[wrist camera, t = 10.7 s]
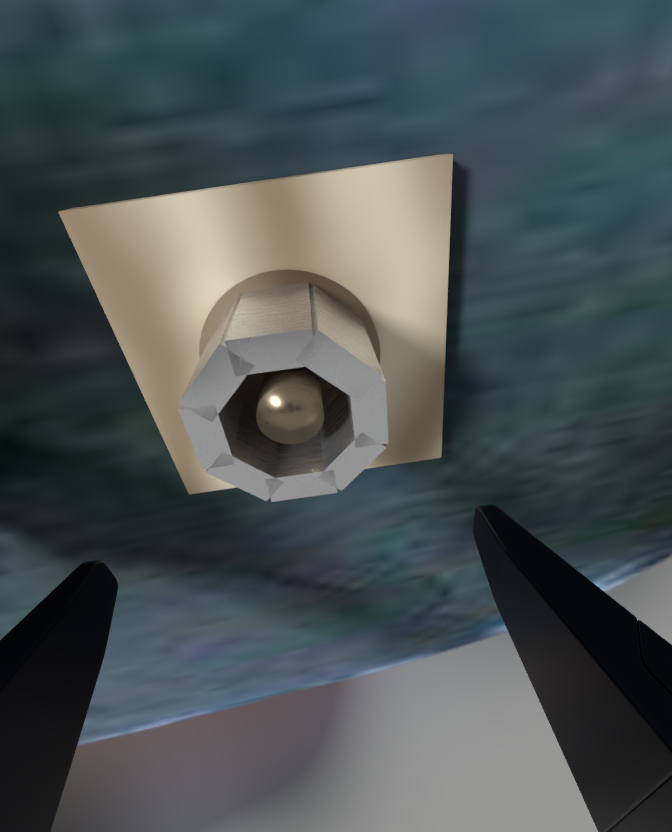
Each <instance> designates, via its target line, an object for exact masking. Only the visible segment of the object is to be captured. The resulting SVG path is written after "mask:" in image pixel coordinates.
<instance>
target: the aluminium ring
mask: <svg viewBox="0 0 672 832" xmlns="http://www.w3.org/2000/svg"><path fill="white" fill-rule="evenodd" d="M299 367H307V368H308V369H310V370H311V371H313V372H314V373H316V374H317V375H319V376H320V377H322V378H323V379H325V380H326V381H328V382H330V383H331V384H333V385H332V386H331V387H330V388H329V389H328V390H327V392H326V393H325V394H324V395H323V396H322V400H323V410H324V421H323V425H322V427H321V429H320V430H319V432H318V433H317V434H316V435H315V436H314V437H312V438H311V439H309V440H307V441H305V442H302V443H298V444H283V443H279V442H276V441H273V440H271V439H270V438H268V437H267V436H266V435H265V434H264V433H263V432H262V431H261V430H260V428H259V426H258V424H257V420H256V412H257V405H258V399H259V394H258V393H256V392H255V391H253V390H251V389H250V388H248V387H247V385H246V381H245V377H246V376H247V375H249V374H256V373H263V372H270V371H278V370H285V369H292V368H299ZM179 405H180V407H179V409H178V410H179V413H180V415H181V418H182V420H183V423H184V425H185V428H186V430H187V433H188V435H189V438H190V440H191V443H192V445H193V448H194V450H195V453H196V455H197V458H198V460H199V462H200V465H201V467H202V469H207V470H206V473H207V474H210V475H212V476H214V477H216V478H218V479H220V480H222V481H225V482H227V483H229V484H231V485H233V486H235V487H237V488H240V489H242V490H244V491H246V492H248V493H250V494H252V495H254V496H257V497H259V498H261V499H263V500H265V501H267V500H268V499H269V498H271V501H272V502H274V501H281V500H288V499H296V498H303V497H310V496H317V495H324V494H331V493H337V488H338V489H340V490H343V489H344V488H345V487H346V486H347V485H348V484H349V483H350V482H351V481H352V480H353V479H355V478H356V477H357V476H358V475H359V474H360V473H361V472H362V471H363V470H364V469H365V468H366V467H367V466H368V465H369V464H370V463H371V462H372V461H373V460H374V459H375V458H376V457H377V456H378V455H379V454H380V453H382V452H383V451H384V450H385V449H386V448H387V447H386V444H387V443H388V422H387V401H386V381H385V378H384V376H383V373H382V370H381V368H380V365H379V362H378V360H377V357H376V355H375V352H374V349H373V347H372V344H371V341H370V339H369V336H368V334H367V331H366V328H365V326H364V325H363V322H362V320H360V319H359V318H358V317H356V316H355V315H354V314H352V313H351V312H350V311H349V310H347V309H346V308H345V307H343V306H342V305H341V304H339V303H338V302H337V301H336V300H334V299H333V298H332V297H330V296H329V295H328V294H326V293H325V292H324V291H322V290H321V289H320V288H319V287H317V286H316V285H315V284H312V286H311V287H310V288H309V283H308V282H305V283H298V284H291V285H284V286H276V287H269V288H262V289H255V290H247V291H244V292H243V295H241V294H239V295H238V297H237V298H236V300H235V302H234V303H233V305H232V306H231V308H230V309H229V311H228V312H227V314H226V315H225V317H224V318H223V320H222V321H221V323H220V324H219V326H218V327H217V329H216V330H215V332H214V333H213V335H212V336H211V338H210V340H209V341H208V343H207V345H206V347H205V349H204V351H203V353H202V356H201V358H200V360H199V362H198V364H197V366H196V368H195V370H194V373H193V375H192V377H191V379H190V381H189V383H188V385H187V388H186V390H185V392H184V394H183V396H182V398H181V400H180V402H179Z"/></svg>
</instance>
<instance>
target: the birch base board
mask: <svg viewBox="0 0 672 832" xmlns="http://www.w3.org/2000/svg"><path fill="white" fill-rule="evenodd" d="M452 168H453V154H440V155H433V156H426V157H420V158H413V159H406V160H399V161H392V162H385V163H379V164H372V165H365V166H358V167H351V168H344V169H337V170H331V171H324V172H317V173H310V174H303V175H296V176H290V177H283V178H276V179H269V180H262V181H255V182H249V183H242V184H235V185H228V186H221V187H214V188H207V189H201V190H194V191H187V192H180V193H173V194H166V195H160V196H153V197H146V198H139V199H132V200H125V201H118V202H112V203H105V204H98V205H91V206H84V207H77V208H71V209H67V210H63V211H59V214H60V217H61V219H62V221H63V223H64V225H65V227H66V230H67V232H68V234H69V236H70V238H71V240H72V243H73V245H74V247H75V249H76V251H77V253H78V255H79V258H80V260H81V262H82V264H83V266H84V268H85V271H86V273H87V275H88V277H89V279H90V281H91V284H92V286H93V288H94V290H95V292H96V294H97V297H98V299H99V301H100V303H101V305H102V307H103V310H104V312H105V314H106V316H107V318H108V320H109V323H110V325H111V327H112V329H113V331H114V333H115V336H116V338H117V340H118V342H119V344H120V346H121V348H122V351H123V353H124V355H125V357H126V359H127V361H128V364H129V366H130V368H131V370H132V372H133V374H134V377H135V379H136V381H137V383H138V385H139V387H140V390H141V392H142V394H143V396H144V398H145V400H146V403H147V405H148V407H149V409H150V411H151V413H152V416H153V418H154V420H155V422H156V424H157V426H158V429H159V431H160V433H161V435H162V437H163V439H164V441H165V444H166V446H167V448H168V450H169V452H170V454H171V457H172V459H173V461H174V463H175V465H176V467H177V470H178V472H179V474H180V476H181V478H182V480H183V483H184V485H185V487H186V489H187V491H188V493H189V494H195V493H202V492H209V491H216V490H222V489H229V488H236V487H235V486H233V485H231V484H229V483H227V482H225V481H222V480H220V479H218V478H216V477H214V476H212V475H210V474H207V473H206V470H207V469H202V467H201V465H200V462H199V460H198V458H197V455H196V453H195V450H194V448H193V445H192V443H191V440H190V438H189V435H188V433H187V430H186V428H185V425H184V423H183V420H182V418H181V415H180V413H179V410H178V409H179V407H180V405H179V402H180V400H181V398H182V396H183V394H184V392H185V390H186V388H187V385H188V383H189V381H190V379H191V377H192V375H193V373H194V370H195V368H196V366H197V364H198V362H199V360H200V358H201V356H202V353H203V351H204V349H205V347H206V345H207V343H208V341H209V340H210V338H211V336H212V335H213V333H214V332H215V330H216V329H217V327H218V326H219V324H220V323H221V321H222V320H223V318H224V317H225V315H226V314H227V312H228V311H229V309H230V308H231V306H232V305H233V303H234V302H235V300H236V298H237V297H238V295H239V294H241V295H243V292H244V291H247V290H255V289H262V288H269V287H276V286H284V285H291V284H298V283H305V282H308V283H309V288H310V287H311V286H312V284H315V285H316V286H317V287H319V288H320V289H321V290H322V291H324V292H325V293H326V294H328V295H329V296H330V297H332V298H333V299H334V300H336V301H337V302H338V303H339V304H341V305H342V306H343V307H345V308H346V309H347V310H349V311H350V312H351V313H352V314H354V315H355V316H356V317H358V318H359V319H360V320H362V322H363V325H364V326H365V328H366V331H367V334H368V336H369V339H370V341H371V344H372V347H373V349H374V352H375V355H376V357H377V360H378V362H379V365H380V368H381V370H382V373H383V376H384V378H385V381H386V401H387V422H388V443H387V444H386V447H387V448H386V449H385V450H384V451H383V452H382V453H380V454H379V455H378V456H377V457H376V458H375V459H374V460H373V461H372V462H371V463H370V464H369V465H368V466H367V467H366V468H365V469H367V468H374V467H381V466H388V465H394V464H401V463H408V462H415V461H422V460H429V459H436V458H441V455H442V429H443V403H444V377H445V351H446V325H447V299H448V273H449V247H450V220H451V194H452ZM262 374H263V373H256V374H249V375H247V376H246V377H245V381H246V385H247V387H248V388H250V389H251V390H253V391H255V392H256V393H258V394H259V393H260V386H261V380H262ZM320 380H321V390H322V396H323V395H324V394H325V393H326V392H327V390H328V389H329V388H330V387H331V386H332V385H333V384H331V383H330V382H328V381H326V380H325V379H323V378H322V377H320Z"/></svg>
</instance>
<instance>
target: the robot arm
mask: <svg viewBox="0 0 672 832" xmlns="http://www.w3.org/2000/svg"><path fill="white" fill-rule="evenodd" d="M473 534H474V539H475V542H476V545H477V548H478V551H479V554H480V557H481V560H482V563H483V567H484V570H485V573H486V576H487V579H488V582H489V585H490V588H491V591H492V594H493V597H494V600H495V602H496V605H497V607H498V609H499V612H500V614H501V616H502V618H503V621H504V623H505V625H506V627H507V629H508V632H509V634H510V636H511V638H512V640H513V642H514V645H515V647H516V649H517V652H518V654H519V656H520V658H521V661H522V663H523V665H524V667H525V670H526V672H527V674H528V676H529V678H530V681H531V683H532V685H533V687H534V690H535V692H536V694H537V696H538V698H539V701H540V703H541V705H542V707H543V710H544V712H545V714H546V716H547V718H548V720H549V723H550V725H551V727H552V730H553V732H554V734H555V736H556V738H557V741H558V743H559V745H560V747H561V749H562V752H563V754H564V756H565V759H566V760H567V763H568V765H569V767H570V770H571V772H572V774H573V776H574V779H575V781H576V783H577V785H578V787H579V790H580V792H581V794H582V796H583V799H584V801H585V803H586V805H587V808H588V810H589V812H590V814H591V816H592V819H593V821H594V823H595V825H596V827H597V830H598V832H672V645H671V644H670V643H668V642H667V641H666V640H665V639H663V638H662V637H661V636H659V635H658V634H657V633H656V632H654V631H653V630H652V629H650V628H649V627H648V626H647V625H645V624H644V623H643V622H641V621H639V620H638V621H637V619H636V617H635V616H634V615H633V614H631V613H630V612H629V611H627V610H626V609H625V608H624V607H623V606H621V605H620V604H619V603H617V602H616V601H615V600H614V599H612V598H611V597H610V596H609V595H607V594H606V593H605V592H604V591H602V590H601V589H600V588H599V587H597V586H596V585H595V584H594V583H592V582H591V581H590V580H588V579H587V578H586V577H585V576H583V575H582V574H581V573H580V572H578V571H577V570H576V569H575V568H573V567H572V566H571V565H570V564H568V563H567V562H566V561H564V560H563V559H562V558H561V557H559V556H558V555H557V554H556V553H554V552H553V551H552V550H551V549H549V548H548V547H547V546H546V545H544V544H543V543H542V542H541V541H539V540H538V539H537V538H535V537H534V536H533V535H532V534H530V533H529V532H528V531H527V530H525V529H524V528H523V527H522V526H520V525H519V524H518V523H517V522H515V521H514V520H513V519H512V518H510V517H509V516H508V515H506V514H505V513H504V512H503V511H501V510H500V509H499V508H498V507H496V506H494V505H485V506H478V507H477V508H476V510H475V516H474V525H473ZM117 590H118V583H117V580H116V578H115V577H114V575H113V574H112V572H111V571H110V570H109V568H108V567H107V566H106V564H105V563H104V562H103V561H101V560H97V561H90V562H85V563H82V564H81V565H80V566H78V567H77V568H76V569H75V570H74V571H73V572H72V573H71V574H70V575H69V576H68V577H67V578H66V579H65V580H64V581H63V582H62V583H60V584H59V585H58V586H57V587H56V588H55V589H54V590H53V591H52V592H51V593H50V594H49V595H48V596H47V597H46V598H45V599H44V600H42V601H41V602H40V603H39V604H38V605H37V606H36V607H35V608H34V609H33V610H32V611H31V612H30V613H29V614H28V615H27V616H26V617H25V618H23V619H22V620H21V621H20V622H19V623H18V624H17V625H16V626H15V627H14V628H13V629H12V630H11V631H10V632H9V633H8V634H7V635H6V636H4V637H3V638H2V639H1V640H0V832H51V829H52V826H53V823H54V820H55V816H56V813H57V809H58V806H59V803H60V799H61V796H62V793H63V790H64V787H65V783H66V780H67V777H68V773H69V770H70V767H71V764H72V760H73V757H74V754H75V750H76V747H77V744H78V741H79V737H80V734H81V731H82V727H83V724H84V721H85V718H86V714H87V711H88V708H89V704H90V701H91V698H92V695H93V691H94V688H95V685H96V681H97V678H98V675H99V672H100V668H101V665H102V661H103V658H104V654H105V650H106V645H107V641H108V636H109V631H110V626H111V621H112V616H113V611H114V606H115V601H116V596H117Z"/></svg>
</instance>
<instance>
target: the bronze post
mask: <svg viewBox="0 0 672 832" xmlns="http://www.w3.org/2000/svg"><path fill="white" fill-rule="evenodd" d="M256 420H257V424H258V426H259V428H260V430H261V431H262V432H263V433H264V434H265V435H266V436H267V437H268V438H270V439H271V440H273V441H276V442H279V443H283V444H298V443H302V442H305V441H307V440H309V439H311V438H312V437H314V436H315V435H316V434H317V433H318V432H319V430H320V429H321V427H322V425H323V421H324V410H323V400H322V390H321V380H320V376H319V375H317V374H316V373H314V372H313V371H311V370H310V369H308V368H307V367H299V368H292V369H285V370H278V371H270V372H263V374H262V380H261V386H260V393H259V399H258V405H257V412H256Z"/></svg>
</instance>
